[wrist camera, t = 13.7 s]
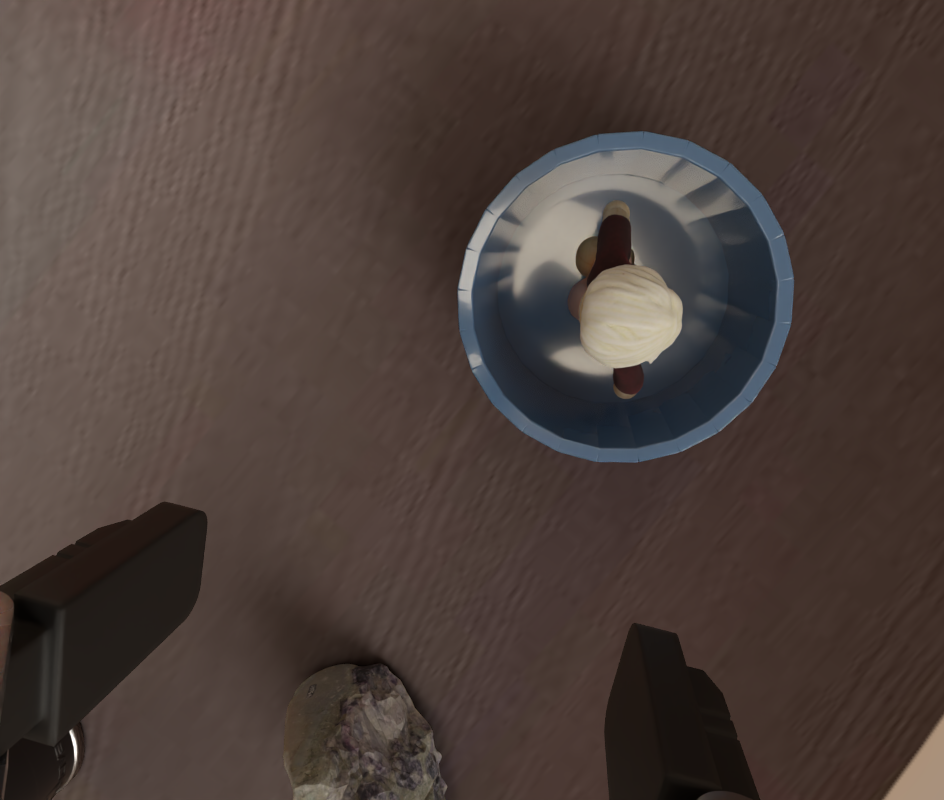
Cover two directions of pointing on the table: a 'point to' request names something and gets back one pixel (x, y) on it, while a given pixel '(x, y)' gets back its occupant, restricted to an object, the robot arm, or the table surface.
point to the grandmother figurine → (622, 303)
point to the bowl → (655, 246)
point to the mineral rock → (359, 739)
